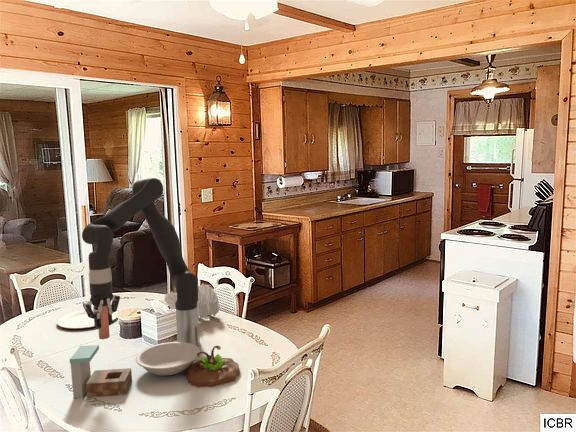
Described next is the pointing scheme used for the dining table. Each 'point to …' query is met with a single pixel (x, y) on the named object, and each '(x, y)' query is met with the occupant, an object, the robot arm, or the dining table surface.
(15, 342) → the dining table surface
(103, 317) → the peg
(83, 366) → the teal-topped grey pillar
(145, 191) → the robot arm
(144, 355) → the soup bowl
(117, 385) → the socket
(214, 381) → the plant
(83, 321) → the plate
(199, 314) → the grey rounded lump
